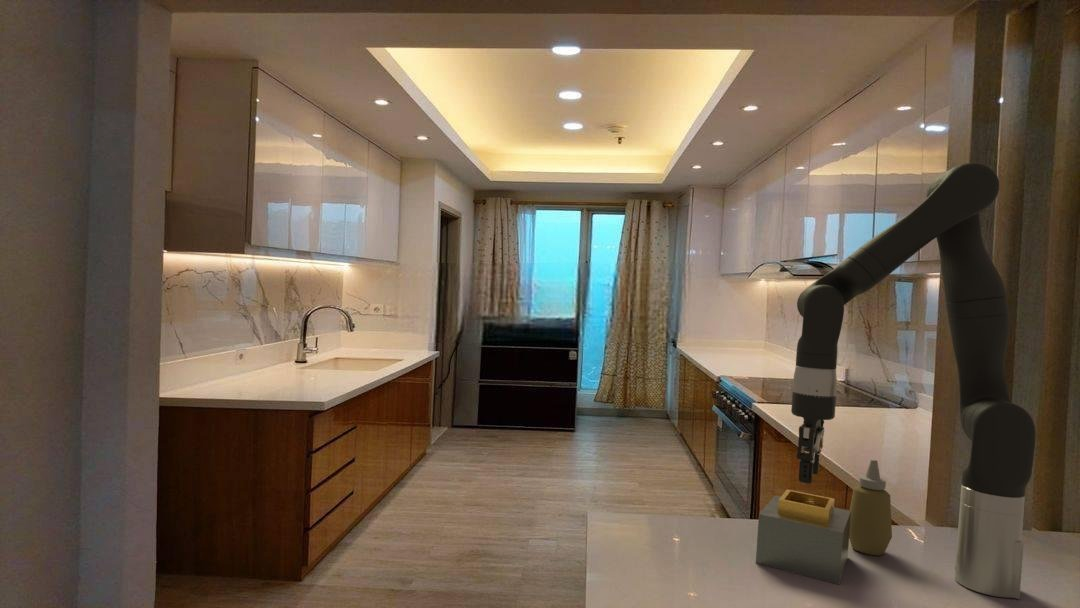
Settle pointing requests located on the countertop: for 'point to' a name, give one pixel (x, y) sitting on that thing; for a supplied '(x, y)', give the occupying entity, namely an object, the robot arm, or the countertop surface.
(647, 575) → the countertop surface
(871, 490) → the squeeze bottle
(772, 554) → the grey boxy block
